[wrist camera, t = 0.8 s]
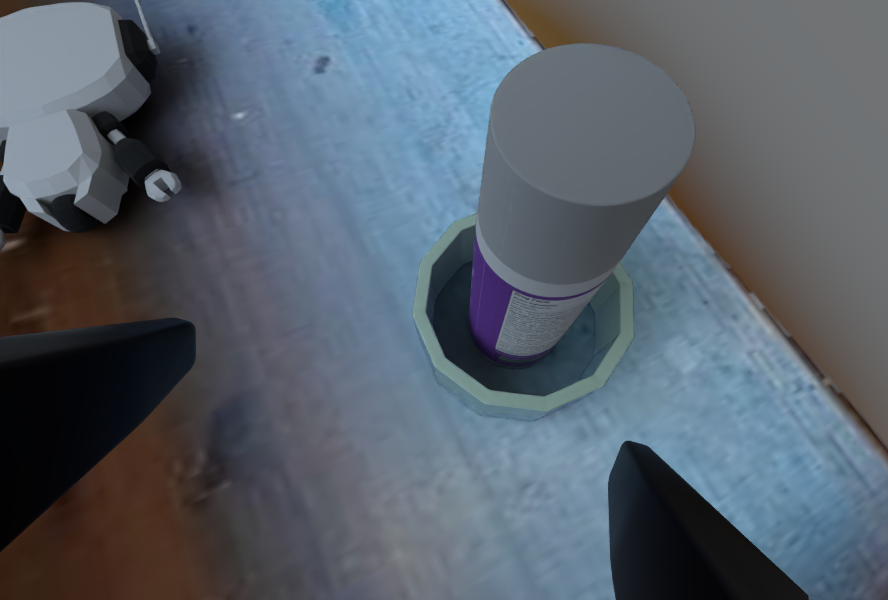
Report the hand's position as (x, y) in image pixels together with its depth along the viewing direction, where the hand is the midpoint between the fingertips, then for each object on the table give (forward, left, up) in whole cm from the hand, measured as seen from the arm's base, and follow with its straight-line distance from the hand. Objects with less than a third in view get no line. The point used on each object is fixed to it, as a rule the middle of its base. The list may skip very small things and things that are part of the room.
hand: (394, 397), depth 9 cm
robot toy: (+25, +13, -14) cm, 31 cm away
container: (+4, -6, -14) cm, 16 cm away
